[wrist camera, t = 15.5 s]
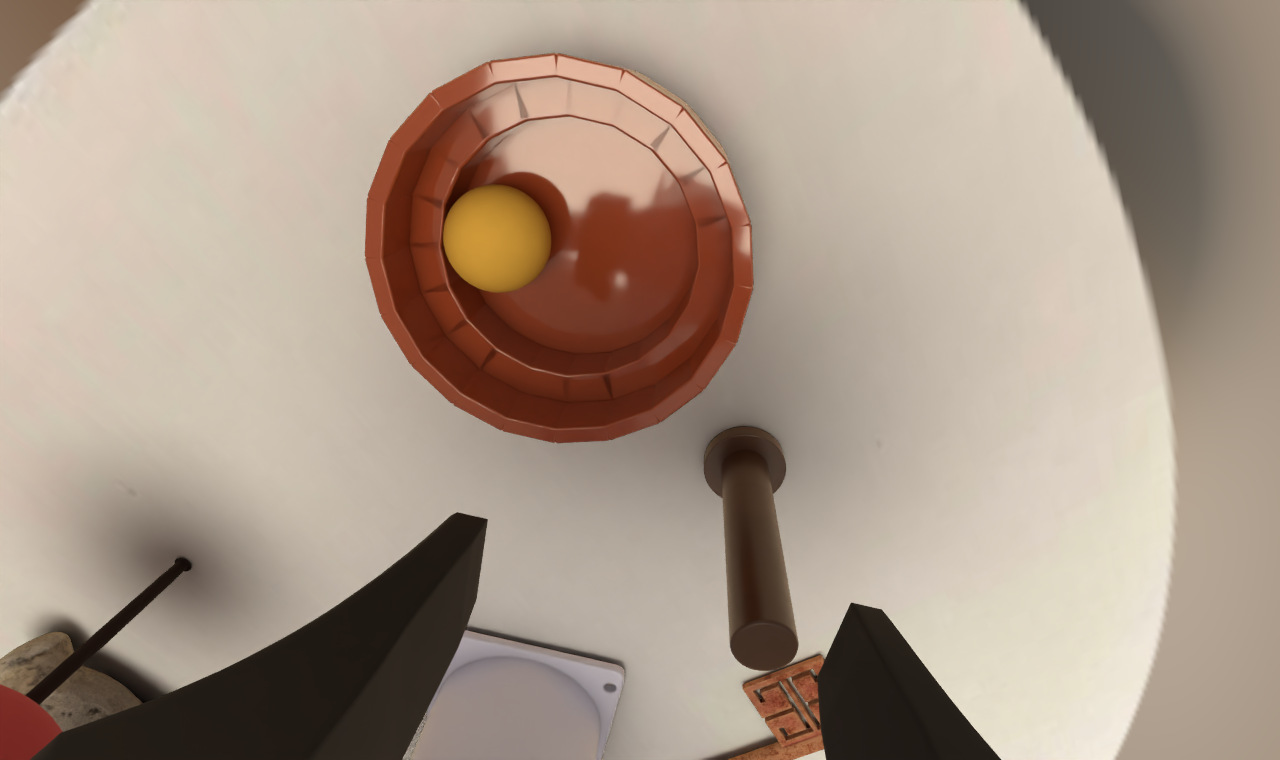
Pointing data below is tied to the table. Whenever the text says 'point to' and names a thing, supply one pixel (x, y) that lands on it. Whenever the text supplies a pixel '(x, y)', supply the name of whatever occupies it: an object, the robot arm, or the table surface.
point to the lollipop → (18, 726)
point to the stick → (753, 546)
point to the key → (787, 712)
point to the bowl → (565, 248)
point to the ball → (497, 238)
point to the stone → (78, 695)
